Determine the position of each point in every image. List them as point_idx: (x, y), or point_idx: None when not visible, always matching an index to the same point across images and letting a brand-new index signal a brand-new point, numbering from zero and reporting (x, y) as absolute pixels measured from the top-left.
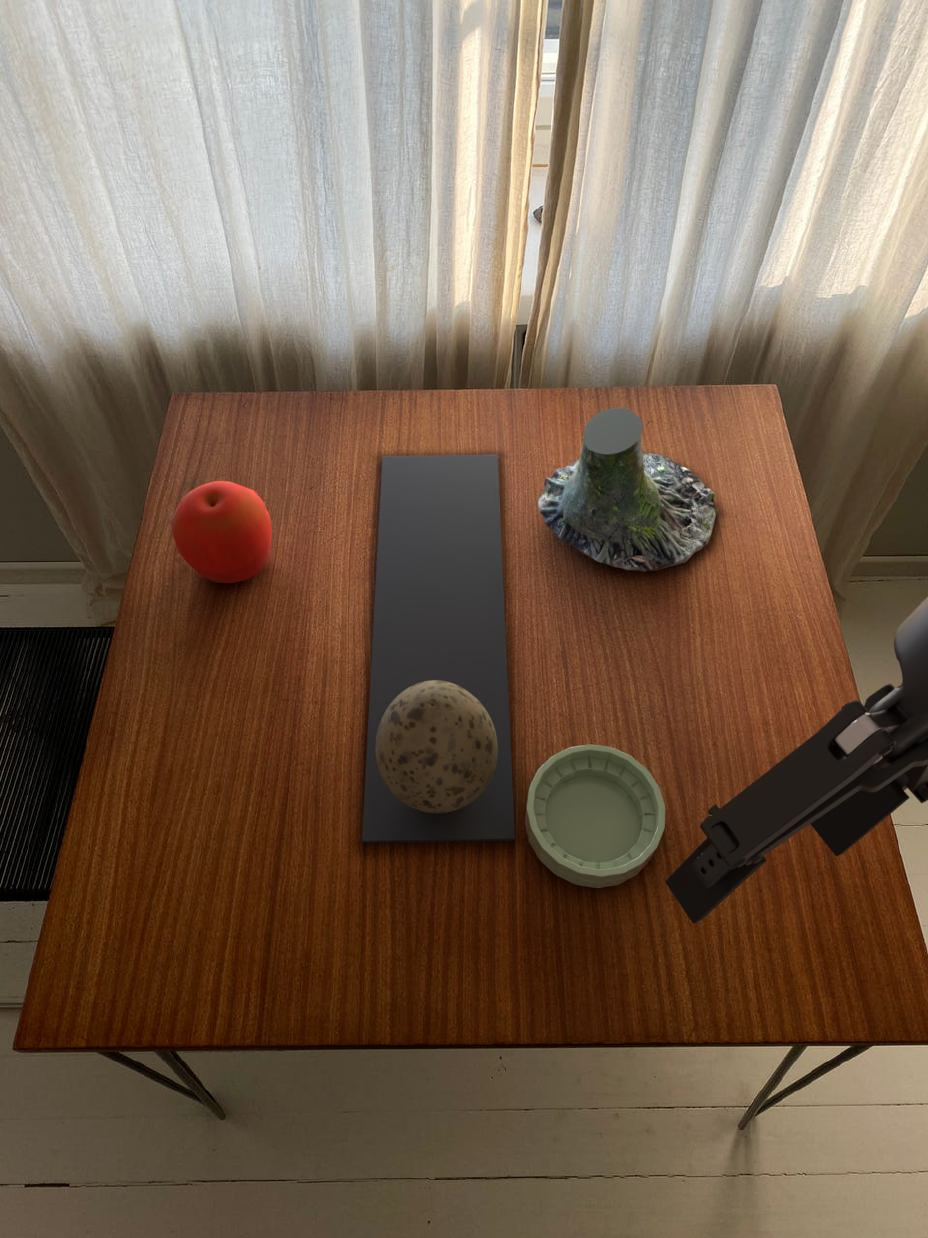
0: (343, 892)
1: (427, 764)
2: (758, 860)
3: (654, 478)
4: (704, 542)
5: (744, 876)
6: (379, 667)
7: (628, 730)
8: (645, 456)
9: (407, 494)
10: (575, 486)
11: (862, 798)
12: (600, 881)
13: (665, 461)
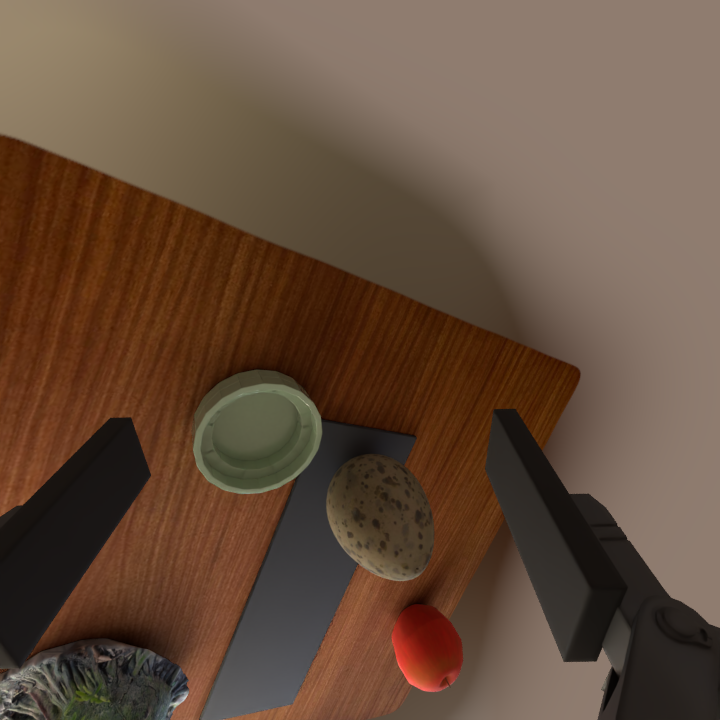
0: (436, 407)
1: (420, 512)
2: (684, 625)
3: None
4: (4, 678)
5: (595, 536)
6: None
7: (183, 492)
8: None
9: (286, 678)
10: None
11: (63, 558)
12: (280, 378)
13: None
